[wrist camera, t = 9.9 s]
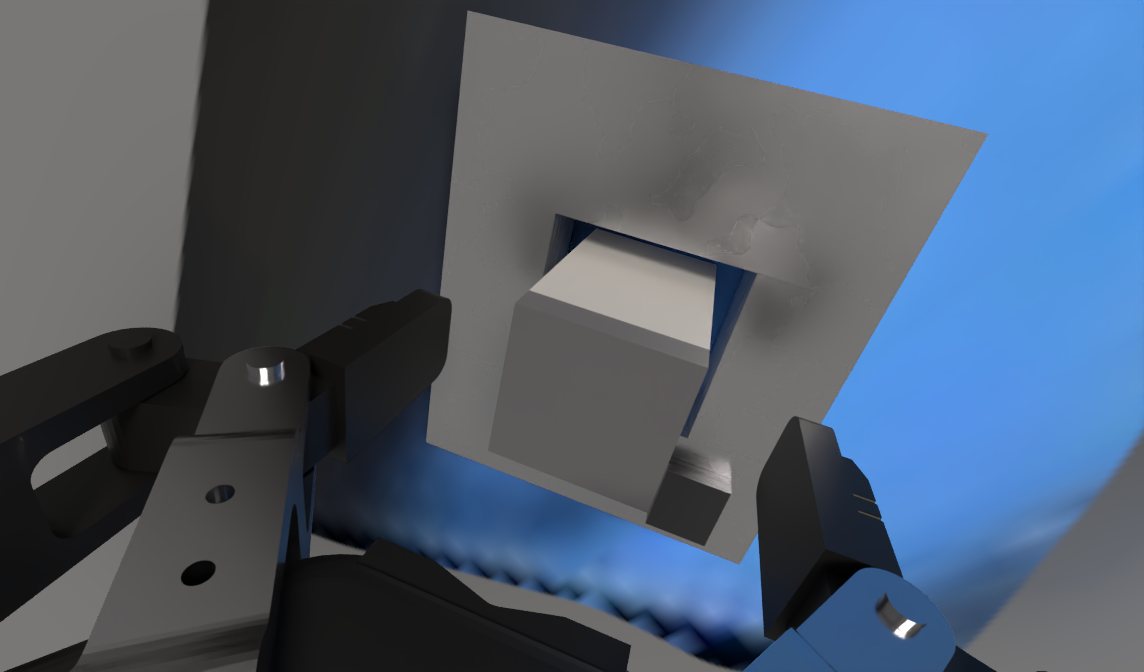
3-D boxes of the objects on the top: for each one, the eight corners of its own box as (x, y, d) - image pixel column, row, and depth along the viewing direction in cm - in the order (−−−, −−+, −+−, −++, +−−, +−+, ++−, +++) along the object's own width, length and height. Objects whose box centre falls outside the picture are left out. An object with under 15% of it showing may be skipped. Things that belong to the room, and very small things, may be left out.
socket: (507, 25, 14) (453, 5, 12) (943, 128, 12) (1004, 135, 10) (457, 406, 21) (415, 453, 18) (738, 511, 19) (739, 581, 16)
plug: (596, 228, 16) (515, 303, 10) (716, 264, 15) (708, 368, 9) (569, 333, 18) (487, 450, 12) (676, 370, 17) (647, 513, 11)
